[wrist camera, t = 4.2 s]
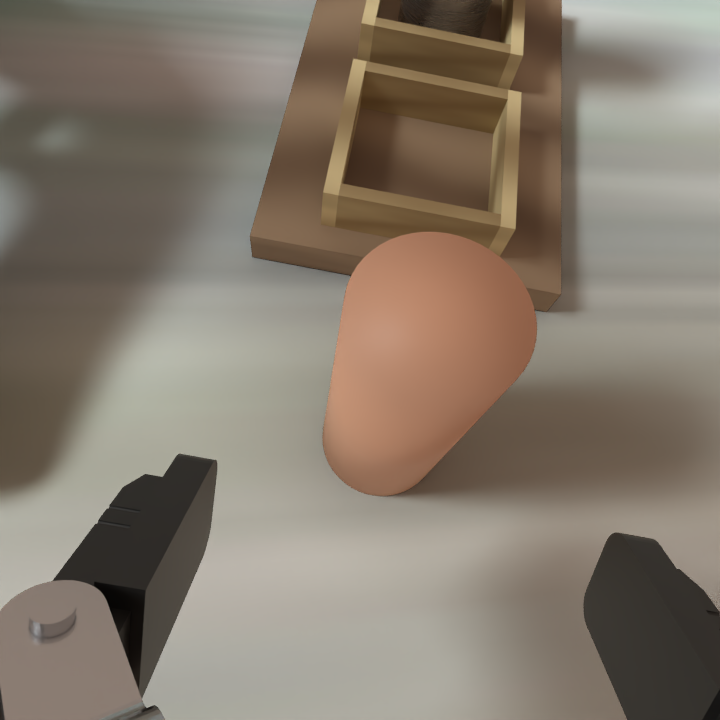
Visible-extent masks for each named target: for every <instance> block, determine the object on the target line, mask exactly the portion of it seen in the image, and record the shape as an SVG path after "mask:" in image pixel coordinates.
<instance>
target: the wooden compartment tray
mask: <svg viewBox="0 0 720 720" xmlns="http://www.w3.org/2000/svg"><path fill="white" fill-rule="evenodd" d="M400 4H401V0H317V1H316V5H315V8H314V12H313V15H312V19H311V22H310V26H309V29H308V33H307V36H306V40H305V43H304V47H303V51H302V54H301V58H300V61H299V65H298V68H297V72H296V75H295V79H294V82H293V86H292V89H291V93H290V96H289V100H288V103H287V107H286V110H285V114H284V117H283V121H282V125H281V128H280V132H279V135H278V139H277V142H276V146H275V149H274V153H273V156H272V160H271V163H270V167H269V170H268V174H267V177H266V181H265V184H264V188H263V191H262V195H261V198H260V202H259V206H258V209H257V213H256V216H255V220H254V223H253V227H252V230H251V234H250V241H251V250H252V257H256V258H261V259H267V260H272V261H277V262H283V263H288V264H294V265H299V266H304V267H310V268H315V269H320V270H326V271H331V272H336V273H342V274H347V275H352V273H353V272H354V270H355V268H356V267H357V265H358V264H359V263H360V262H361V260H362V259H363V258H364V257H365V256H366V255H367V254H368V253H370V252H371V251H372V250H373V249H375V248H376V247H378V246H379V245H380V244H382V243H384V242H386V241H388V240H390V239H393V238H396V237H398V236H401V235H406V234H410V233H417V232H441V233H449V234H453V235H457V236H461V237H464V238H467V239H470V240H472V241H474V242H476V243H479V244H481V245H483V246H484V247H486V248H488V249H489V250H491V251H493V252H494V253H495V254H497V255H498V256H499V257H501V258H502V259H503V260H504V261H505V262H506V263H507V264H508V265H509V266H510V267H511V268H512V269H513V270H514V271H515V272H516V274H517V275H518V276H519V278H520V279H521V281H522V282H523V284H524V285H525V287H526V289H527V291H528V293H529V295H530V297H531V300H532V303H533V306H534V310H539V311H545V312H547V311H548V309H549V308H550V307H551V306H552V305H553V303H554V302H555V301H556V300H557V299H558V297H559V296H560V295H561V34H562V0H492V3H491V6H490V9H489V12H488V15H487V18H486V21H485V24H484V27H483V30H482V34H481V37H480V38H476V37H471V36H466V35H461V34H456V33H451V32H446V31H441V30H436V29H432V28H427V27H422V26H417V25H412V24H407V23H402V22H398V15H399V10H400Z"/></svg>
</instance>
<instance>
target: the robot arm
mask: <svg viewBox="0 0 720 720" xmlns="http://www.w3.org/2000/svg"><path fill="white" fill-rule="evenodd" d="M216 476H217V461H216V460H212V459H206V458H201V457H195V456H190V455H184V454H178V455H177V456H176V458H175V459H174V461H173V462H172V464H171V465H170V467H169V468H168V470H167V471H166V473H165V474H164V476H163V477H159V476H153V475H148V474H145V475H143V476H141V477H140V478H138V479H136V480H135V481H133V482H131V483H130V484H128V485H126V486H124V487H123V488H122V489H121V491H120V492H119V493H118V495H117V496H116V497H115V499H114V500H113V501H112V503H111V504H110V507H109V509H106V511H105V512H104V513H103V515H102V516H101V517H100V519H99V520H98V524H95V525H94V527H93V528H92V529H91V531H90V532H89V533H88V535H87V536H86V537H85V539H84V540H83V541H82V543H81V544H80V545H79V547H78V548H77V549H76V550H75V552H74V553H73V554H72V556H71V557H70V558H69V560H68V561H67V562H66V564H65V565H64V566H63V568H62V569H61V570H60V572H59V573H58V574H57V576H56V577H55V578H54V580H53V581H51V582H47V583H43V584H40V585H36V586H34V587H32V588H29V589H27V590H25V591H23V592H22V593H20V594H18V595H17V596H15V597H14V598H13V599H11V600H10V601H9V602H8V603H7V604H6V605H5V606H4V607H3V608H2V609H1V611H0V720H165V718H164V716H163V715H162V713H161V711H160V710H159V708H158V707H157V706H155V705H154V706H151V707H148V708H146V707H145V705H144V703H143V701H142V697H143V695H144V693H145V690H146V688H147V686H148V683H149V681H150V679H151V676H152V674H153V672H154V669H155V667H156V665H157V662H158V660H159V658H160V655H161V653H162V651H163V648H164V646H165V644H166V641H167V639H168V637H169V635H170V632H171V630H172V628H173V625H174V623H175V621H176V618H177V616H178V614H179V611H180V609H181V607H182V604H183V602H184V600H185V597H186V595H187V593H188V590H189V588H190V586H191V583H192V581H193V579H194V576H195V574H196V572H197V569H198V567H199V565H200V563H201V560H202V558H203V555H204V552H205V549H206V546H207V542H208V538H209V534H210V528H211V521H212V512H213V503H214V494H215V485H216ZM584 618H585V622H586V625H587V628H588V630H589V632H590V634H591V637H592V639H593V641H594V644H595V646H596V648H597V651H598V653H599V655H600V658H601V660H602V662H603V664H604V667H605V669H606V671H607V674H608V676H609V678H610V681H611V683H612V685H613V688H614V690H615V692H616V694H617V697H618V699H619V701H620V704H621V706H622V708H623V711H624V713H625V715H626V718H627V720H720V612H719V611H718V609H717V608H716V606H715V605H714V604H713V602H712V601H711V600H710V598H709V597H708V596H707V594H706V593H705V591H704V590H703V589H702V588H700V587H699V586H698V585H697V584H696V583H695V582H693V581H692V580H691V579H690V578H689V577H688V576H687V575H685V574H684V573H683V572H682V571H681V570H680V569H676V567H675V566H674V564H673V563H672V562H671V560H670V559H669V557H668V556H667V555H666V553H665V552H664V550H663V549H662V547H661V546H660V545H659V543H658V542H657V541H655V540H654V539H650V538H645V537H639V536H633V535H628V534H622V533H613V534H611V535H610V536H609V538H608V539H607V541H606V544H605V546H604V548H603V551H602V553H601V556H600V558H599V561H598V563H597V565H596V568H595V570H594V573H593V575H592V577H591V580H590V582H589V585H588V587H587V590H586V593H585V597H584Z"/></svg>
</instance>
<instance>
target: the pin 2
mask: <svg viewBox="0 0 720 720" xmlns="http://www.w3.org/2000/svg"><path fill="white" fill-rule="evenodd" d="M536 335H537V322H536V314H535V310H534V306H533V303H532V300H531V297H530V295H529V293H528V291H527V289H526V287H525V285H524V284H523V282H522V281H521V279H520V278H519V276H518V275H517V274H516V272H515V271H514V270H513V269H512V268H511V267H510V266H509V265H508V264H507V263H506V262H505V261H504V260H503V259H502V258H501V257H499V256H498V255H497V254H495V253H494V252H493V251H491V250H489V249H488V248H486V247H484V246H483V245H481V244H479V243H476V242H474V241H472V240H470V239H467V238H464V237H461V236H457V235H453V234H449V233H441V232H417V233H410V234H406V235H401V236H398V237H396V238H393V239H390V240H388V241H386V242H384V243H382V244H380V245H379V246H378V247H376V248H375V249H373V250H372V251H371V252H370V253H368V254H367V255H366V256H365V257H364V258H363V259H362V260H361V262H360V263H359V264H358V265H357V267H356V268H355V270H354V272H353V273H352V275H351V277H350V280H349V282H348V285H347V288H346V292H345V296H344V302H343V309H342V315H341V321H340V327H339V334H338V340H337V346H336V352H335V359H334V365H333V371H332V377H331V384H330V390H329V396H328V402H327V409H326V415H325V421H324V427H323V447H324V452H325V455H326V458H327V460H328V463H329V465H330V466H331V468H332V469H333V471H334V472H335V474H336V475H337V476H338V477H339V478H340V479H341V480H342V481H343V482H344V483H346V484H347V485H349V486H350V487H351V488H353V489H355V490H357V491H360V492H362V493H365V494H369V495H375V496H390V495H395V494H399V493H402V492H404V491H406V490H408V489H410V488H412V487H413V486H415V485H416V484H417V483H418V482H420V481H421V480H422V479H423V478H424V477H425V476H426V474H427V473H428V472H429V471H430V470H431V469H432V468H433V467H434V466H435V465H436V464H437V463H438V462H439V461H440V460H441V459H442V458H443V457H444V456H445V454H446V453H447V452H448V451H449V450H450V449H451V448H452V447H453V446H454V445H455V444H456V443H457V442H458V441H459V440H460V439H461V438H462V437H463V436H464V434H465V433H466V432H467V431H468V430H469V429H470V428H471V427H472V426H473V425H474V424H475V423H476V422H477V421H478V420H479V419H480V418H481V417H482V415H483V414H484V413H485V412H486V411H487V410H488V409H489V408H490V407H491V406H492V405H493V404H494V403H495V402H496V401H497V400H498V399H499V398H500V397H501V395H502V394H503V393H504V392H505V391H506V390H507V389H508V388H509V387H510V386H511V385H512V384H513V383H514V382H515V381H516V380H517V378H518V377H519V376H520V375H521V374H522V372H523V371H524V370H525V368H526V366H527V364H528V363H529V361H530V359H531V356H532V354H533V351H534V347H535V342H536Z"/></svg>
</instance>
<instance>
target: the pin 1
mask: <svg viewBox="0 0 720 720" xmlns="http://www.w3.org/2000/svg"><path fill="white" fill-rule="evenodd" d="M491 3H492V0H401V4H400V10H399V15H398V22H402V23H407V24H412V25H417V26H422V27H427V28H432V29H436V30H441V31H446V32H451V33H456V34H461V35H466V36H471V37H476V38H480V37H481V34H482V30H483V27H484V24H485V21H486V18H487V15H488V12H489V9H490V6H491Z"/></svg>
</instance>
